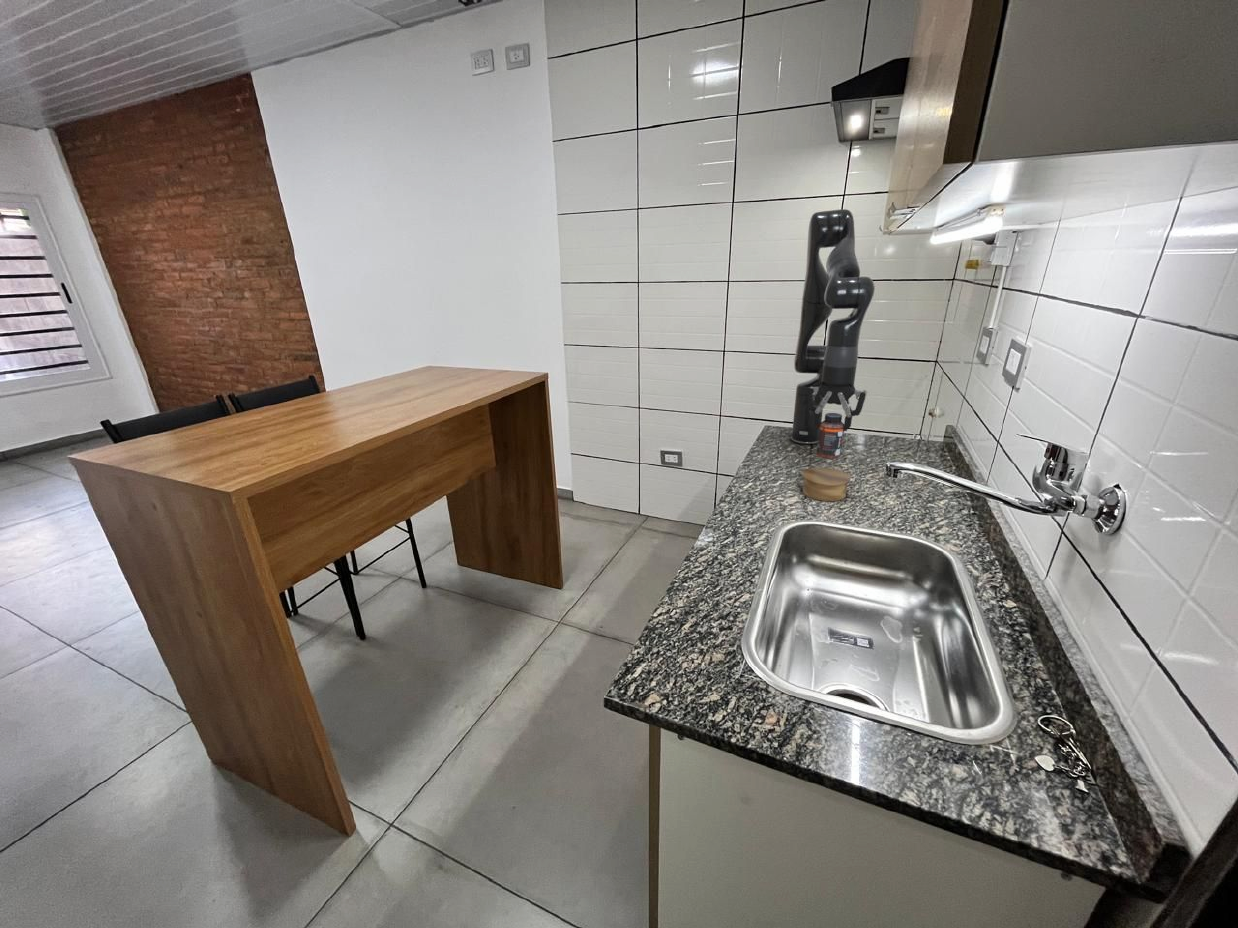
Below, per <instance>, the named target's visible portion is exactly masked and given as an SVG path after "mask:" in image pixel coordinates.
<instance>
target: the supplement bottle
mask: <svg viewBox="0 0 1238 928" xmlns="http://www.w3.org/2000/svg"><path fill="white" fill-rule="evenodd" d="M842 420H843V415H842V413H838V412H826V413H825V414H824V420H822V422H821V424H820V429H819V437H818V443H817V446H816V454H817V456H818V457H819V458H822V459H827V460H836V459H839V458H840V457H841V455H842V448H843V441H844V435H845V431H843V429H844V422H843V421H842Z"/></svg>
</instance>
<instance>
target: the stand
mask: <svg viewBox="0 0 1238 928" xmlns="http://www.w3.org/2000/svg"><path fill="white" fill-rule="evenodd" d="M801 473H802V474H801V476H802V478H803V481H802V493H803V494H804V496H807V497H809V498H811V499H813V500H817V501H823V502H836V501H837V502H838V501H841V500H843V499H845V498H846V497H847V490H848V484H849V483H851V482H850V481H851V476H850V474H848V473H846V472H844V471H842V470H839V469H835V468H832V467H819V466H817V467H810V468H806V469H804V470H803V471H802V472H801Z"/></svg>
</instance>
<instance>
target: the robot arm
mask: <svg viewBox="0 0 1238 928" xmlns="http://www.w3.org/2000/svg"><path fill="white" fill-rule="evenodd" d="M809 219H810V220H809V226H808V233H807V234H808V235H807V249H806V250H807V251H806V267H805V269H806V270H805V277H804V284H803V290H802V297H801V306H800V307H801V308H800V318H799V323H800V324H799V331H798V337H797V342H796V347H795V348H796V349H795V353H794V360H793V361H794V362H793V364H794V365H793V368H794V370H795V372H796V373H798V374H816V375H815V376H814V377H812V378H811V379H808V380H805V381H803V382H800V383H798V384H797V385H796V389H795V397H794V398H795V399H794V400H795V401H794V411H793V419H792V420H793V421H792V422H793V423H792V429H791V437H790V440H791V441H792V442H794V443H796V444H800V445H816V444H818V437H819V429H820V424H821V422H823V413H824V412H823V411H824V408H825V407H826V406H827V405H834V404H835V405H837V406H841V407H842V409H843V412H844V414H845V417H844V422H843V424H844V429H843V431H844V432H847V431H848V430H850V428H851V427H852V421H853V417H855V416H857V417H858V416H859V415H861V412H862V410H863V407H864V404H865V400H866V398H867V394H868V391H866V390H858V389H856V388H855V380H856V373H857V367H858V366H857V365H858V358H859V344H860V335H861V329H862V326H863V322H864V319H865V316H866V313H867V312H868V309H869V307H870V305H871V303H872V301H873V298H874V295H875V290H876V287H875V286H876V285H875V283H874V281H873V279H872V278H871V277H869V276H861V269H860V265H859V262H858V258H857V253H856V234H855V233H856V232H855V220H854V216H853V212H851V210H850V209H844V208H843V209H833V210H826V211H825V210H824V211H817V212H814V213H813V214H812V215H811V217H810V218H809ZM827 248H833V249H832V250H831V252H829V255H828V256H827V259H826V263H825V267H824V265H823V262H822V259H821V255H820V250H821V249H827ZM825 268H826V269H825ZM848 309H849V310H850V309H851V310H852V311H851V313H849V315H847V316H845V317H842V318H837V319H834V320H832V321H831V322H830V323H829V325H828V332H827V340H826V345H819V344H815V345H813V344H812V345H811V344H810V345H809V343H810V342H811V339H812V338H813V336H814V334H815V333H817V331H819V329H820V328H821V327H822V326H823V325H824V324H825V323H826V322H827V320H828V319H829V318H830V317H831V315H832V313H833V311H834V310H848ZM853 395H854V396H855V399H856V400H857V403H856V406H855V408H854V409H853V408H852V405H851V402H850V398H852V397H853Z"/></svg>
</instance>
